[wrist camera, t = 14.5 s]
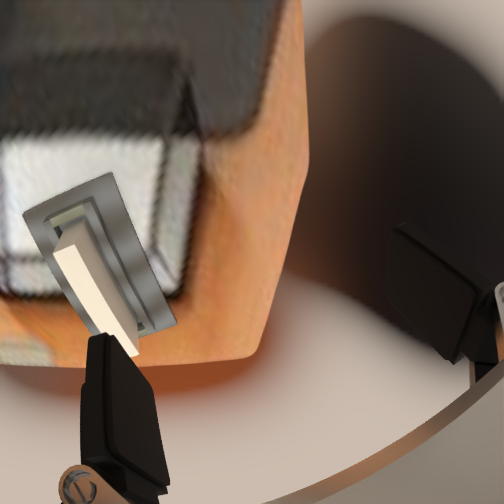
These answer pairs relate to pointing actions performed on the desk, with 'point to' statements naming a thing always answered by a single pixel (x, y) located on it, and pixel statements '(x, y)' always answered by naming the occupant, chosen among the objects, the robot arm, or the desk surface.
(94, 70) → the desk surface
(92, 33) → the desk surface
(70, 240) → the clay strip
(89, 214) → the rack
